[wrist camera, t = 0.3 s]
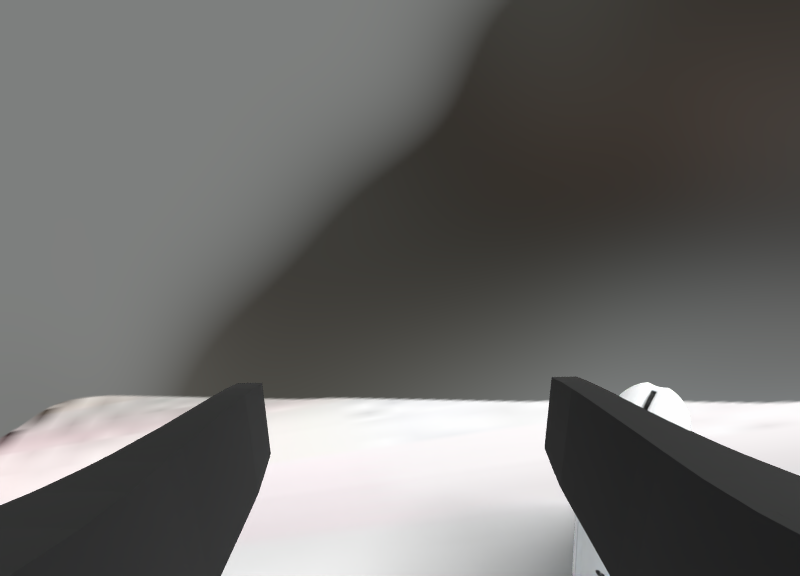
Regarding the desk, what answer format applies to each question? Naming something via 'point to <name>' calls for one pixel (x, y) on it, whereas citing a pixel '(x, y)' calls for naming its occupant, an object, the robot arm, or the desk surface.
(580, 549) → the photo printer
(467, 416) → the desk surface
